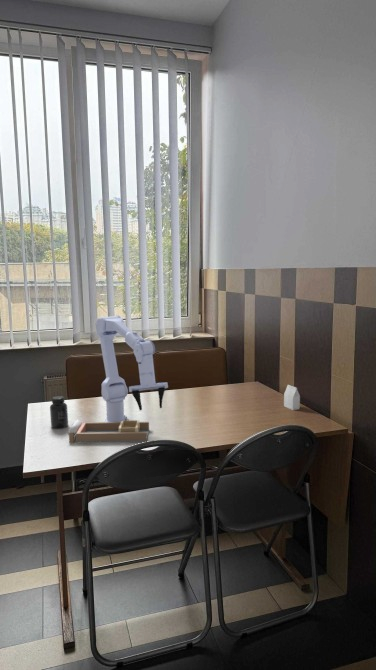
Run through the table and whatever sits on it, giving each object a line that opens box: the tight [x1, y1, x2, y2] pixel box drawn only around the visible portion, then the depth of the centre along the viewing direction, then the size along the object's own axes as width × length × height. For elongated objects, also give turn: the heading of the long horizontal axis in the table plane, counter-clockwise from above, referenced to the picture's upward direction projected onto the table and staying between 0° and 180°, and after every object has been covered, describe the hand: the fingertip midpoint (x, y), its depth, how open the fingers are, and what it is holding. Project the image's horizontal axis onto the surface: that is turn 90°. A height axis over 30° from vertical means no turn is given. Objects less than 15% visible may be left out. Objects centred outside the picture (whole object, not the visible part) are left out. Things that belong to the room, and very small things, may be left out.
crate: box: [119, 419, 141, 432], centre depth 184 cm, size 9×7×4 cm
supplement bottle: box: [49, 395, 69, 429], centre depth 196 cm, size 7×7×12 cm
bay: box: [67, 419, 150, 444], centre depth 184 cm, size 13×29×5 cm, turn 90°
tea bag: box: [283, 384, 301, 411], centre depth 218 cm, size 4×7×10 cm, turn 24°
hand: (150, 408), depth 182 cm, fingers open, 7 cm apart
